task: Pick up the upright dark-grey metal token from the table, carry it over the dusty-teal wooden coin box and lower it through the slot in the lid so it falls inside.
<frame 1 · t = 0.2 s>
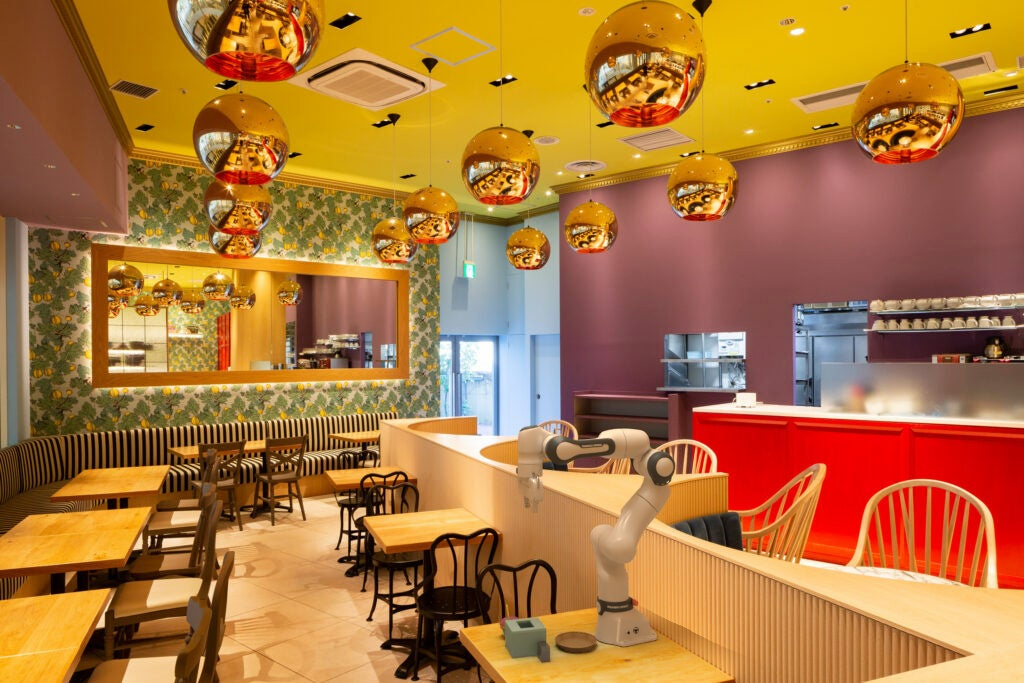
hand: (530, 510, 239), 47 cm above the table, fingers open, 8 cm apart
plant saucer: (575, 647, 236), on the table
token: (543, 659, 225), on the table
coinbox: (525, 650, 233), on the table
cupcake: (511, 637, 245), on the table
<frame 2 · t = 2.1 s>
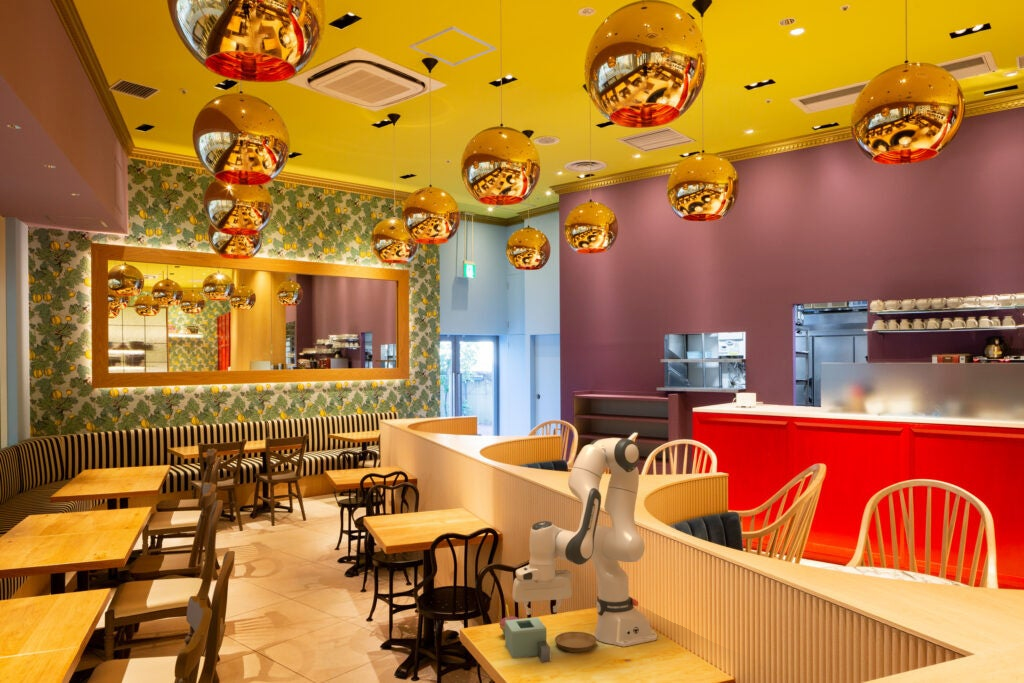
hand: (542, 613, 225), 15 cm above the table, fingers open, 8 cm apart
nothing on the table moved.
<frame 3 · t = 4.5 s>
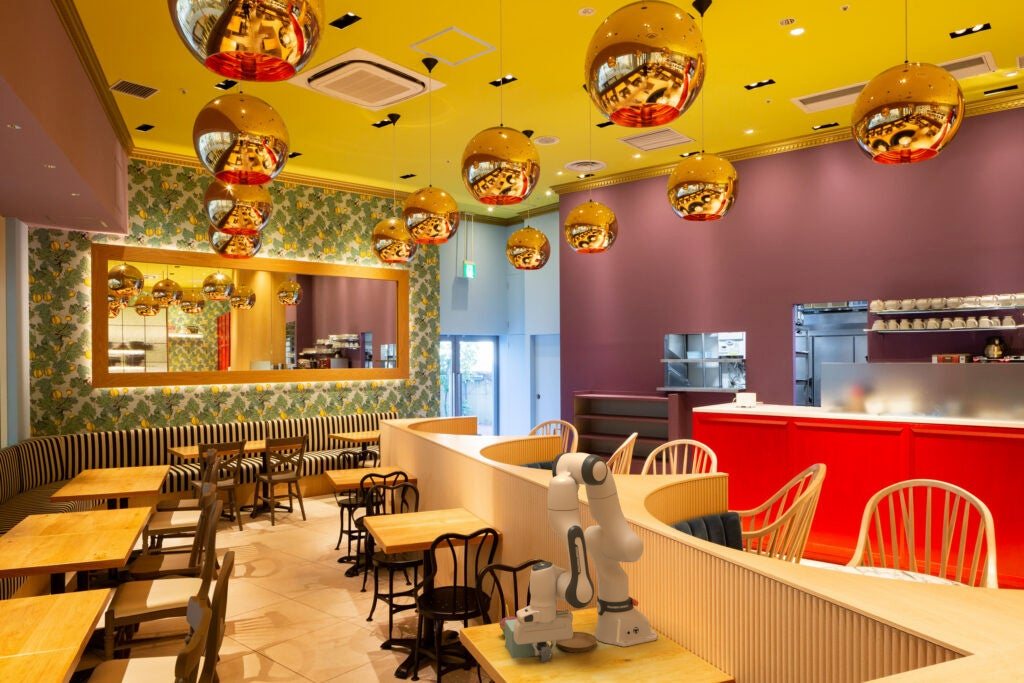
hand: (543, 654, 225), 2 cm above the table, fingers closed on token, 3 cm apart
token: (544, 659, 225), on the table, touching gripper
everything else where it was.
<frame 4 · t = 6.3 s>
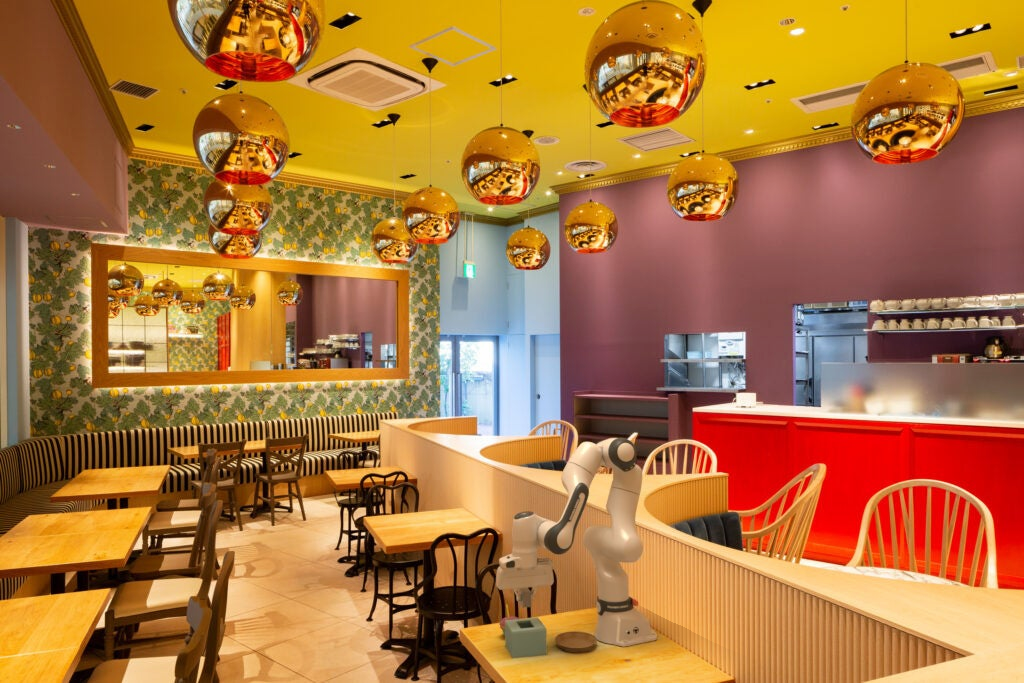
hand: (525, 600, 233), 17 cm above the table, fingers closed on token, 3 cm apart
token: (525, 604, 233), point 15 cm above the table, touching gripper
everything else where it was.
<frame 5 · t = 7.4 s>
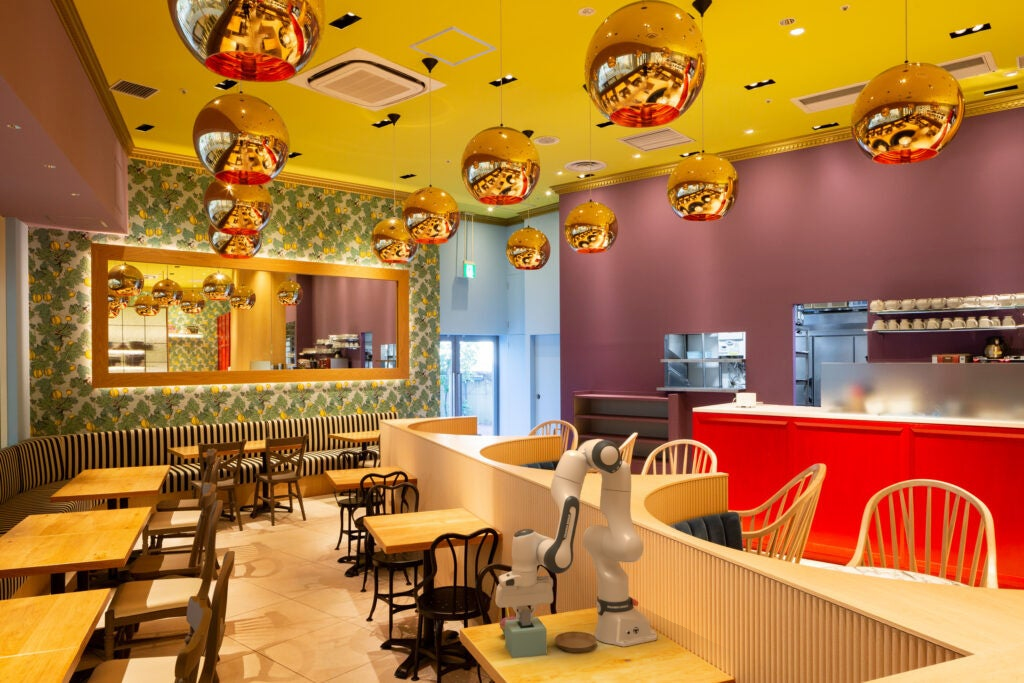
hand: (524, 618, 233), 11 cm above the table, fingers closed on token, 3 cm apart
token: (524, 623, 233), point 9 cm above the table, touching gripper
everything else where it was.
when the fingers open (10 cm above the table, at t = 8.3 s): token drops 7 cm, resting on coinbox.
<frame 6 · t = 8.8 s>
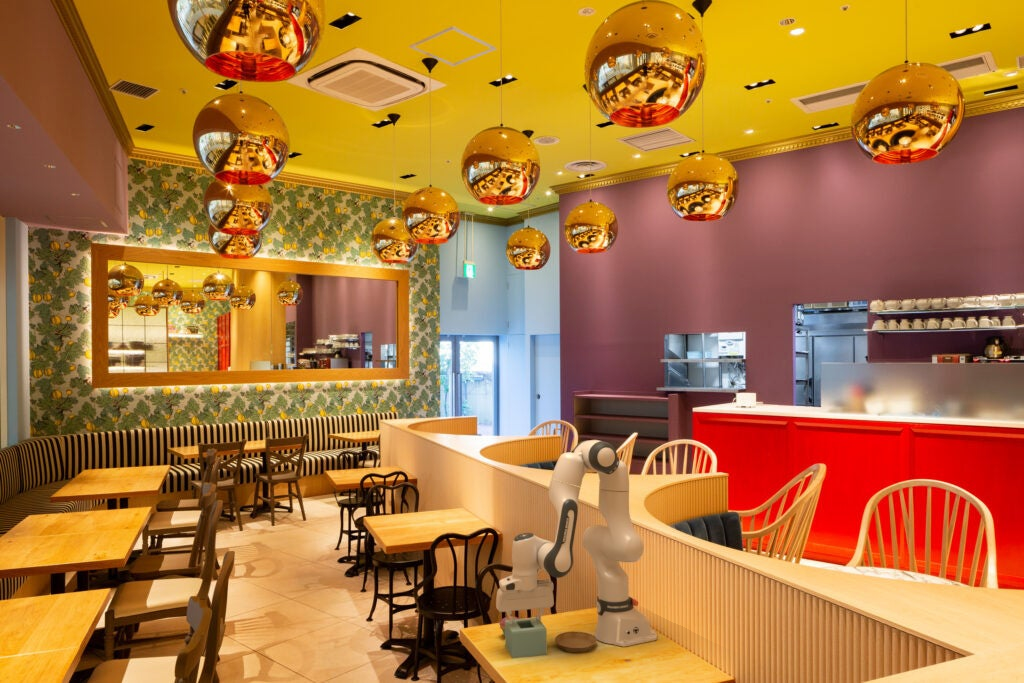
hand: (525, 621, 233), 10 cm above the table, fingers open, 8 cm apart
token: (525, 648, 233), point 1 cm above the table, touching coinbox
everything else where it was.
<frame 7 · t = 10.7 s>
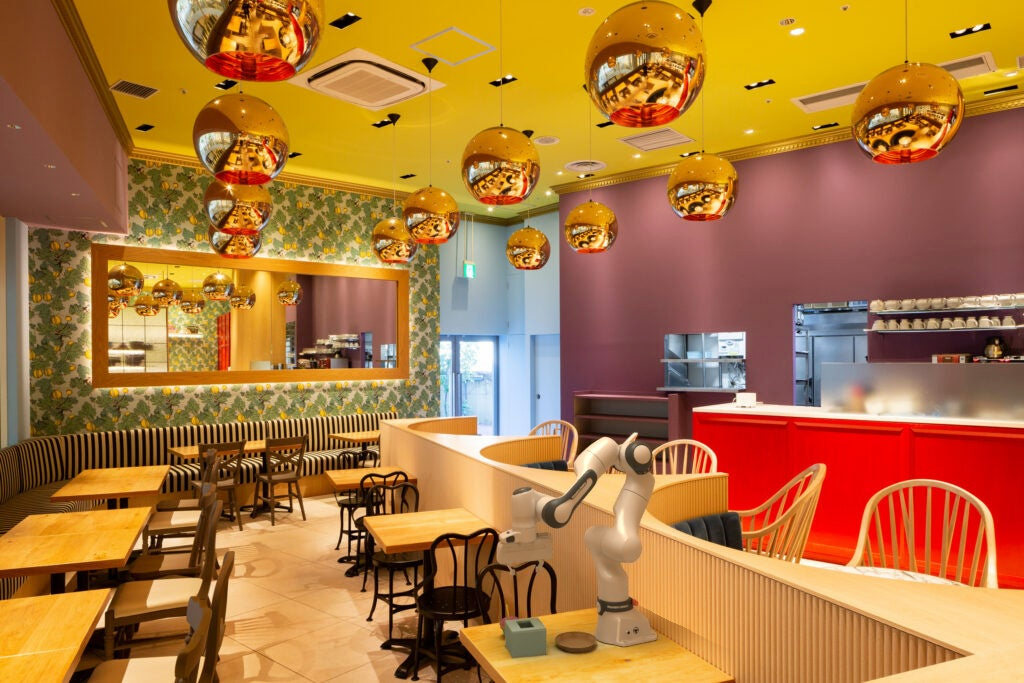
hand: (525, 573, 237), 25 cm above the table, fingers open, 8 cm apart
nothing on the table moved.
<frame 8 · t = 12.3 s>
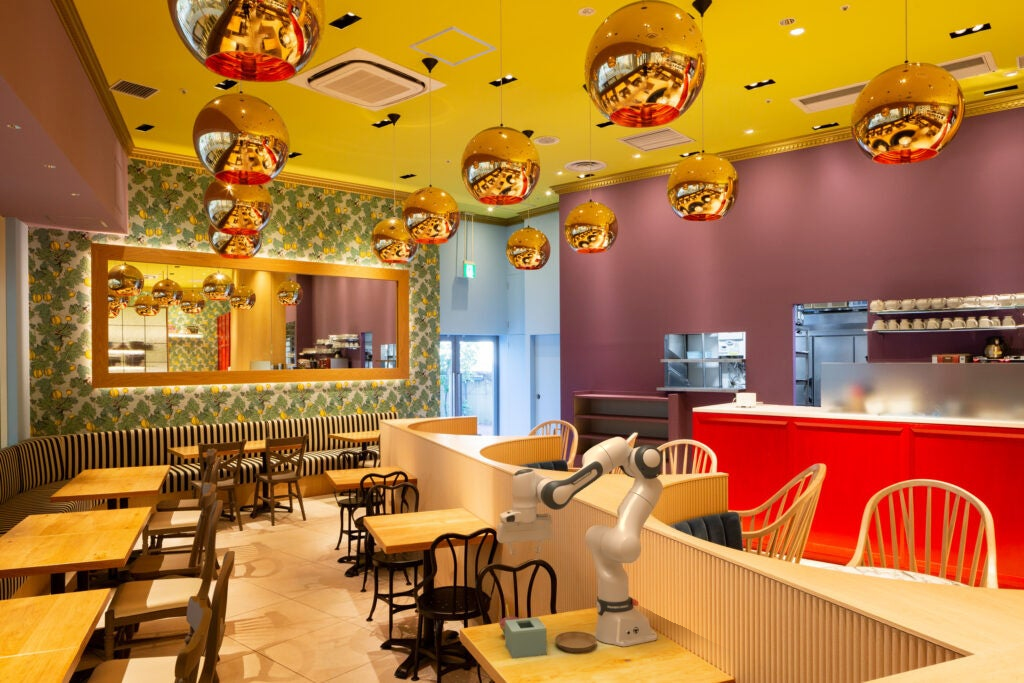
hand: (524, 553, 242), 31 cm above the table, fingers open, 8 cm apart
nothing on the table moved.
at the end: token inside the target area on the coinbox (0.1 cm from its centre), point 0.6 cm above the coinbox's base; the gripper is holding nothing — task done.
